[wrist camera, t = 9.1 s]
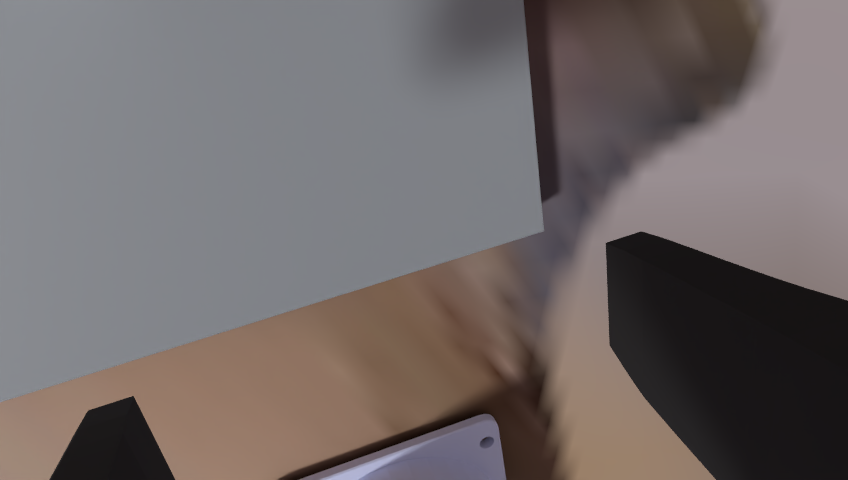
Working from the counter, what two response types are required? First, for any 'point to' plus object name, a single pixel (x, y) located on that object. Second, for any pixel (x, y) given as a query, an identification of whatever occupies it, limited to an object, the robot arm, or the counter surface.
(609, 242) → the robot arm
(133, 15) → the base plate
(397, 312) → the counter surface
